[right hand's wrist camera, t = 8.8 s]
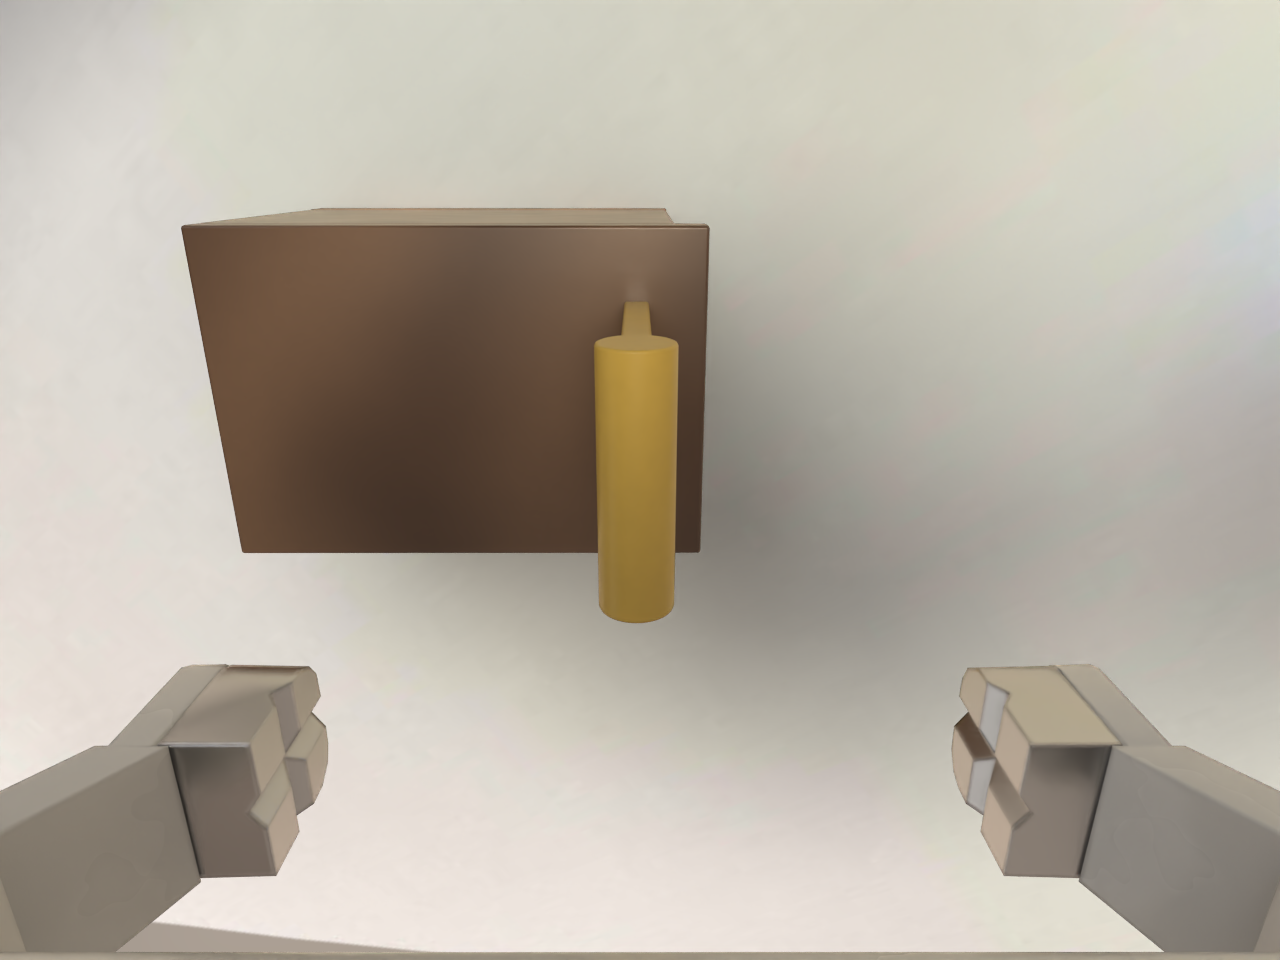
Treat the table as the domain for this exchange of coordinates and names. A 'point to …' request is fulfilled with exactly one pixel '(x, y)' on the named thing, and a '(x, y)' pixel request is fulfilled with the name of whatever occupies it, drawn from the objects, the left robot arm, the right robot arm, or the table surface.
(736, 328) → the table surface
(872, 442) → the table surface
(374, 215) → the brown wooden box
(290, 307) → the door
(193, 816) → the right robot arm
